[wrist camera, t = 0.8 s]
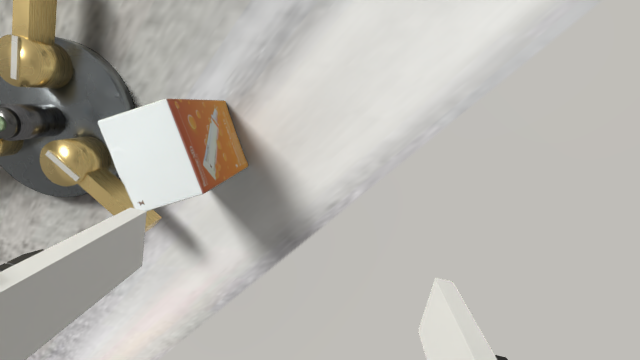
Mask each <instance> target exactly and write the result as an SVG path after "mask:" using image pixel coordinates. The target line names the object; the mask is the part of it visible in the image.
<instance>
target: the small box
mask: <svg viewBox="0 0 640 360" xmlns="http://www.w3.org/2000/svg"><path fill="white" fill-rule="evenodd" d="M98 125H99V128H100V130H101V133H102V135H103V137H104V140H105V142H106V145H107V147H108V149H109V152H110V154H111V157H112V159H113V162H114V165H115V168H116V170H117V172H118V175H119V177H120V178H121V180H122V182H123V184H124V186H125V188H126V191H127V193H128V195H129V197H130V200H131V202H132V204H133V206H134V208H135V209H139V210H143V211H150V210H153V209H156V208H159V207H162V206H165V205H169V204H172V203H175V202H178V201H181V200H185V199H188V198H191V197H194V196H198V195H202V194H204V193H206V192H208V191H209V190H211V189H213V188H214V187H216V186H218V185H219V184H221V183H223V182H224V181H226V180H227V179H229V178H231V177H232V176H234V175H236V174H237V173H239V172H240V171H242V170H244V169H245V168H247V167H248V163H247V161H246V158H245V156H244V153H243V151H242V148H241V145H240V142H239V140H238V137H237V134H236V131H235V129H234V126H233V123H232V120H231V117H230V114H229V111H228V108H227V105H226V102H225V101H223V100H196V99H163V100H160V101H157V102H154V103H151V104H148V105H145V106H142V107H138V108H135V109H132V110H129V111H126V112H123V113H120V114H117V115H114V116H111V117H108V118H105V119H102V120H99V121H98Z"/></svg>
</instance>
